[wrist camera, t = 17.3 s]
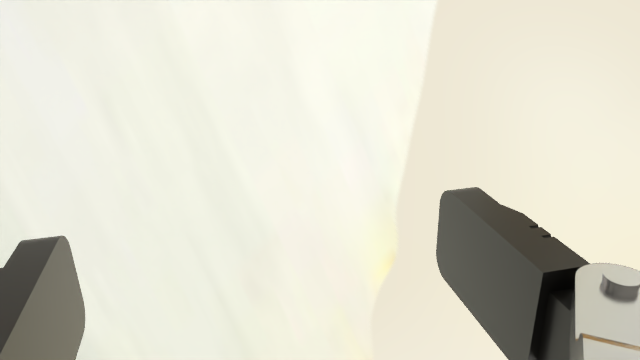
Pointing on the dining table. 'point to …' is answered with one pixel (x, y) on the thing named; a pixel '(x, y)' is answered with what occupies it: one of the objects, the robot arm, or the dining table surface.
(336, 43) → the dining table surface
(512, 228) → the robot arm
